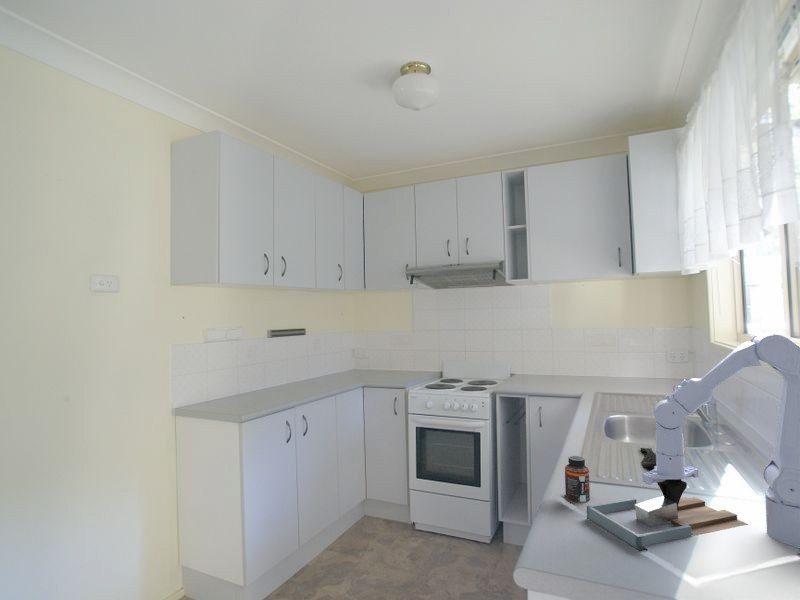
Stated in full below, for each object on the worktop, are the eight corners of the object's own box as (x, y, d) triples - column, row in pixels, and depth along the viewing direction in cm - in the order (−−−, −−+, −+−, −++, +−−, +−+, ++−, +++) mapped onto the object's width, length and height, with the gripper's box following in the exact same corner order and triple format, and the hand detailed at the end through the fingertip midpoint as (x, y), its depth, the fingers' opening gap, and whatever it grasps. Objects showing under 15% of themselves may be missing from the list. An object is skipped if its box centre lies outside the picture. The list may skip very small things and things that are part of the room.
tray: (691, 540, 99) (691, 526, 99) (639, 551, 95) (638, 536, 95) (634, 510, 114) (633, 498, 114) (586, 518, 110) (586, 506, 110)
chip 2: (678, 520, 106) (676, 502, 106) (664, 524, 105) (662, 506, 105) (664, 512, 110) (662, 496, 110) (650, 516, 108) (648, 500, 108)
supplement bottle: (590, 507, 116) (589, 462, 117) (565, 504, 118) (564, 460, 119) (589, 498, 122) (588, 455, 122) (565, 495, 124) (564, 453, 124)
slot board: (748, 528, 104) (747, 519, 104) (693, 540, 99) (692, 530, 99) (685, 501, 119) (685, 493, 119) (635, 509, 114) (635, 501, 114)
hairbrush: (656, 442, 162) (676, 461, 138) (657, 453, 162) (677, 474, 138) (630, 441, 164) (646, 459, 140) (631, 452, 164) (646, 472, 140)
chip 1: (664, 524, 105) (662, 507, 105) (650, 529, 104) (647, 511, 103) (650, 516, 108) (648, 500, 108) (636, 521, 107) (634, 504, 107)
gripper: (679, 444, 114) (681, 500, 114) (631, 450, 110) (633, 508, 109) (705, 453, 107) (707, 511, 107) (655, 459, 103) (657, 521, 103)
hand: (671, 511), depth 108 cm, fingers closed, pressing on chip 2
